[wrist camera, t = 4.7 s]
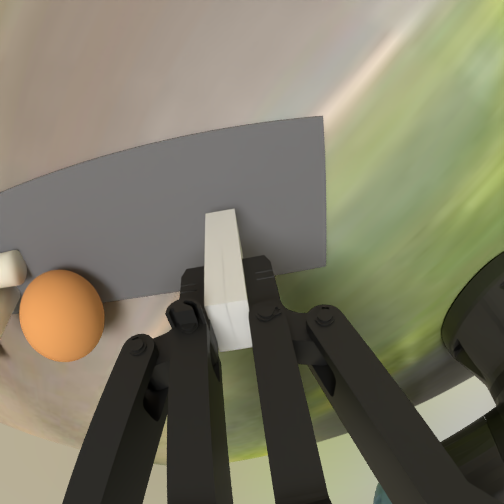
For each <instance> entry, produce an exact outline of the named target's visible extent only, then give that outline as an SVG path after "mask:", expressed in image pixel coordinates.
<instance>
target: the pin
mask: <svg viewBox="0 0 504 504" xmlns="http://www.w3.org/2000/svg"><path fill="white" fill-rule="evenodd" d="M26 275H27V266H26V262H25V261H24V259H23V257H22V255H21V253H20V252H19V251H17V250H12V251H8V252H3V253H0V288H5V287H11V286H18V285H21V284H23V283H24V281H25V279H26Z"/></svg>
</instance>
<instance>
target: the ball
mask: <svg viewBox="0 0 504 504" xmlns="http://www.w3.org/2000/svg"><path fill="white" fill-rule="evenodd" d="M19 315H20V324H21V327H22V330H23V333H24V335H25V337H26V339H27V340H28V342H29V343H30V345H31V346H32V347H33V348H34V349H35V350H36V351H37V352H38V353H40V354H41V355H43V356H44V357H46V358H48V359H51V360H54V361H59V362H71V361H75V360H78V359H80V358H82V357H84V356H86V355H87V354H89V353H90V352H91V351H92V350H93V349H94V348H95V346H96V345H97V344H98V342H99V340H100V338H101V336H102V333H103V329H104V321H105V317H104V308H103V304H102V301H101V299H100V297H99V294H98V293H97V291H96V290H95V288H94V287H93V286H92V284H91V283H90V282H89V281H87V280H86V279H85V278H84V277H82V276H81V275H79V274H77V273H74V272H71V271H67V270H51V271H48V272H45V273H43V274H41V275H39V276H38V277H36V278H35V279H34V280H33V281H32V282H31V283H30V284H29V285H28V287H27V288H26V290H25V292H24V294H23V296H22V299H21V303H20V310H19Z"/></svg>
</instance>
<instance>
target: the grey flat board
mask: <svg viewBox="0 0 504 504" xmlns="http://www.w3.org/2000/svg"><path fill="white" fill-rule="evenodd" d="M229 209H235V214H236V220H237V225H238V231H239V236H240V242H241V247H242V253H243V259H244V258H250V257H255V256H261V255H265V256H266V257H267V258H268V259H269V260H270V261H271V265H272V269H273V273H274V276H275V275H280V274H286V273H292V272H297V271H303V270H308V269H314V268H319V267H325V266H326V173H325V146H324V126H323V116H315V117H304V118H295V119H286V120H277V121H269V122H262V123H255V124H248V125H241V126H235V127H229V128H223V129H217V130H212V131H206V132H201V133H196V134H191V135H186V136H181V137H177V138H172V139H168V140H163V141H159V142H155V143H151V144H146V145H142V146H138V147H135V148H131V149H127V150H123V151H119V152H116V153H112V154H109V155H105V156H102V157H98V158H95V159H92V160H88V161H85V162H82V163H79V164H76V165H73V166H70V167H67V168H64V169H61V170H58V171H55V172H52V173H49V174H46V175H43V176H41V177H38V178H35V179H33V180H30V181H27V182H25V183H22V184H20V185H17V186H14V187H12V188H10V189H7V190H5V191H2V192H0V253H3V252H8V251H12V250H17V251H19V252H20V253H21V255H22V257H23V259H24V261H25V262H26V266H27V275H26V279H25V281H24V283H23V284H21V285H18V286H17V288H18V289H19V291H20V299H19V301H18V303H17V305H16V307H15V309H14V311H13V313H12V314H17V313H19V310H20V303H21V299H22V296H23V294H24V292H25V290H26V288H27V287H28V285H29V284H30V283H31V282H32V281H33V280H34V279H35V278H36V277H38V276H39V275H41V274H43V273H45V272H48V271H51V270H67V271H71V272H74V273H77V274H79V275H81V276H82V277H84V278H85V279H86V280H87V281H89V282H90V283H91V284H92V286H93V287H94V288H95V290H96V291H97V293H98V294H99V297H100V299H101V301H102V303H103V302H110V301H117V300H124V299H131V298H138V297H145V296H152V295H158V294H165V293H171V292H178V291H180V287H181V277H182V275H183V274H184V272H185V270H186V269H189V268H195V267H201V266H204V263H205V214H206V213H212V212H217V211H223V210H229Z"/></svg>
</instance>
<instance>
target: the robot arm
mask: <svg viewBox="0 0 504 504" xmlns="http://www.w3.org/2000/svg"><path fill="white" fill-rule="evenodd" d="M165 314H166V316H167V318H168V321H169V323H170V325H171V327H172V329H171V330H170V331H169V332H167V333H165V334H163V335H161V336H159V337H156V338H154V339H152V338H151V337H150V336H149V335H146V334H137V335H135V336H132V337H131V338H129V339H128V340H127V341H126V342H125V344H124V345H123V347H122V349H121V352H120V354H119V356H118V358H117V361H116V363H115V365H114V367H113V370H112V372H111V374H110V377H109V379H108V381H107V384H106V386H105V389H104V391H103V393H102V396H101V398H100V401H99V403H98V406H97V408H96V411H95V413H94V416H93V418H92V421H91V423H90V426H89V429H88V431H87V434H86V436H85V439H84V442H83V444H82V447H81V450H80V453H79V456H78V458H77V461H76V464H75V467H74V470H73V473H72V476H71V479H70V482H69V485H68V488H67V491H66V494H65V497H64V500H63V503H62V504H142V503H143V500H144V496H145V492H146V488H147V485H148V481H149V477H150V473H151V470H152V466H153V463H154V459H155V455H156V452H157V448H158V445H159V441H160V438H161V434H162V431H163V427H164V424H165V420H166V417H167V414H168V417H167V501H168V504H233V497H232V487H231V478H230V468H229V457H228V446H227V435H226V423H225V411H224V398H223V384H222V370H221V362H220V359H219V356H218V348H219V351H220V352H224V351H231V350H238V349H244V348H250V347H253V354H254V361H255V368H256V375H257V382H258V389H259V396H260V403H261V410H262V417H263V424H264V431H265V438H266V444H267V451H268V457H269V464H270V471H271V477H272V484H273V490H274V496H275V503H276V504H332V503H331V501H330V499H329V496H328V492H327V488H326V483H325V479H324V475H323V470H322V466H321V461H320V457H319V452H318V448H317V444H316V439H315V435H314V431H313V426H312V422H311V418H310V414H309V409H308V405H307V401H306V397H305V392H304V388H303V384H302V380H301V376H300V371H299V367H298V364H306V365H308V367H309V368H310V370H311V372H312V373H313V375H314V377H315V378H316V380H317V382H318V383H319V385H320V387H321V388H322V390H323V392H324V393H325V395H326V397H327V398H328V400H329V401H330V403H331V405H332V406H333V408H334V410H335V411H336V413H337V415H338V416H339V418H340V420H341V421H342V423H343V425H344V426H345V428H346V429H347V431H348V433H349V434H350V436H351V438H352V439H353V441H354V443H355V444H356V446H357V447H358V449H359V451H360V452H361V454H362V456H363V457H364V459H365V461H366V462H367V464H368V465H369V467H370V469H371V470H372V472H373V473H374V475H375V477H376V478H377V480H378V482H379V483H378V485H377V488H376V491H375V496H374V503H373V504H504V253H502V254H501V255H499V256H498V257H496V258H495V259H494V260H492V261H491V262H490V263H489V264H488V265H486V266H485V267H484V268H483V269H482V270H481V271H480V272H479V273H478V274H477V275H476V276H475V277H474V278H473V279H472V280H471V281H470V283H469V284H468V285H467V286H466V287H465V289H464V290H463V291H462V292H461V294H460V295H459V296H458V298H457V299H456V301H455V302H454V304H453V305H452V307H451V309H450V310H449V312H448V314H447V316H446V319H445V321H444V324H443V328H442V339H443V341H444V343H445V345H446V347H447V348H448V350H449V352H450V354H451V355H452V356H453V357H454V358H455V359H456V360H457V361H458V362H460V363H461V364H462V365H463V366H464V367H465V368H467V369H468V370H469V371H470V372H471V373H472V374H474V375H475V376H476V377H477V378H478V379H479V380H481V381H482V382H483V383H484V384H485V385H486V386H487V388H488V390H489V391H490V393H491V395H492V397H493V399H494V401H495V403H496V407H495V408H493V409H492V410H491V411H489V412H488V413H486V414H485V415H484V416H482V417H480V418H479V419H477V420H476V421H474V422H473V423H471V424H470V425H468V426H467V427H465V428H463V429H462V430H460V431H459V432H457V433H455V434H454V435H452V436H450V437H449V438H447V439H445V440H443V441H442V442H439V440H438V439H437V437H436V436H435V435H434V433H433V432H432V431H431V429H430V428H429V426H428V425H427V424H426V422H425V421H424V420H423V418H422V417H421V415H420V414H419V413H418V412H417V410H416V409H415V407H414V406H413V405H412V403H411V402H410V401H409V399H408V398H407V397H406V395H405V394H404V392H403V391H402V390H401V388H400V387H399V386H398V384H397V383H396V382H395V381H394V379H393V378H392V377H391V375H390V374H389V373H388V371H387V370H386V369H385V367H384V366H383V365H382V363H381V362H380V361H379V359H378V358H377V357H376V356H375V354H374V353H373V352H372V350H371V349H370V348H369V346H368V345H367V344H366V343H365V341H364V340H363V339H362V337H361V336H360V335H359V334H358V332H357V331H356V330H355V329H354V327H353V326H352V325H351V323H350V322H349V321H348V320H347V318H346V317H345V316H344V315H343V313H342V312H341V311H340V310H339V309H338V308H336V307H334V306H332V305H318V306H315V307H314V308H312V309H311V310H310V311H309V312H308V313H298V312H293V311H290V310H288V309H287V308H285V307H284V306H283V305H282V303H281V301H280V297H279V293H278V289H277V285H276V281H275V277H274V273H273V269H272V265H271V261H270V260H269V259H268V258H267V257H266V256H265V255H261V256H255V257H250V258H244V259H243V253H242V247H241V242H240V236H239V231H238V225H237V220H236V214H235V209H229V210H223V211H217V212H212V213H206V214H205V263H204V266H201V267H195V268H189V269H186V270H185V272H184V274H183V275H182V277H181V287H180V298H179V300H177V301H175V302H173V303H172V304H171V305H170V306H169V307H168V308H167V310H166V313H165ZM484 417H485V418H484ZM485 419H486V420H485Z"/></svg>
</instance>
